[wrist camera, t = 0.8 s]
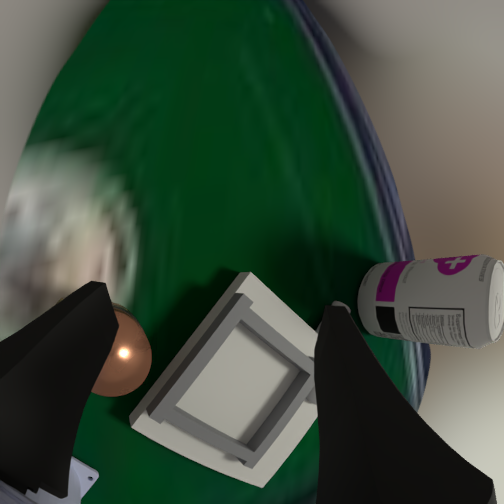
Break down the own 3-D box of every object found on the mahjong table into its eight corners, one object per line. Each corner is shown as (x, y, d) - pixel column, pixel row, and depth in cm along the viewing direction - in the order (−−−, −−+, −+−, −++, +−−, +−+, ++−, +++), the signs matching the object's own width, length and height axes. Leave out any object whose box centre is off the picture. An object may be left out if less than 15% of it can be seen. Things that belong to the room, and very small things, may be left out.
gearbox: (252, 477, 24) (270, 495, 20) (128, 416, 20) (133, 436, 16) (355, 328, 30) (380, 331, 27) (267, 236, 26) (289, 231, 23)
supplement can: (353, 263, 31) (485, 251, 17) (398, 264, 34) (509, 254, 21) (352, 339, 30) (481, 359, 16) (397, 330, 34) (507, 339, 20)
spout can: (116, 381, 20) (120, 413, 14) (49, 325, 18) (29, 341, 12) (155, 331, 21) (170, 348, 16) (88, 273, 20) (80, 271, 14)
